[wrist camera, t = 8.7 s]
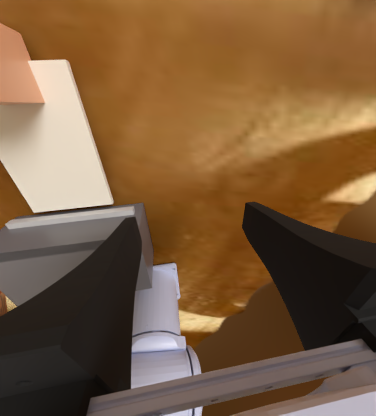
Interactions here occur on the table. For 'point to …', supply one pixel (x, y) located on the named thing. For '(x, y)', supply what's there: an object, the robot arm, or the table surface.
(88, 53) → the table surface
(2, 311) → the milk carton
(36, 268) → the dispenser
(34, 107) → the peach block on base
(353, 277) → the robot arm
